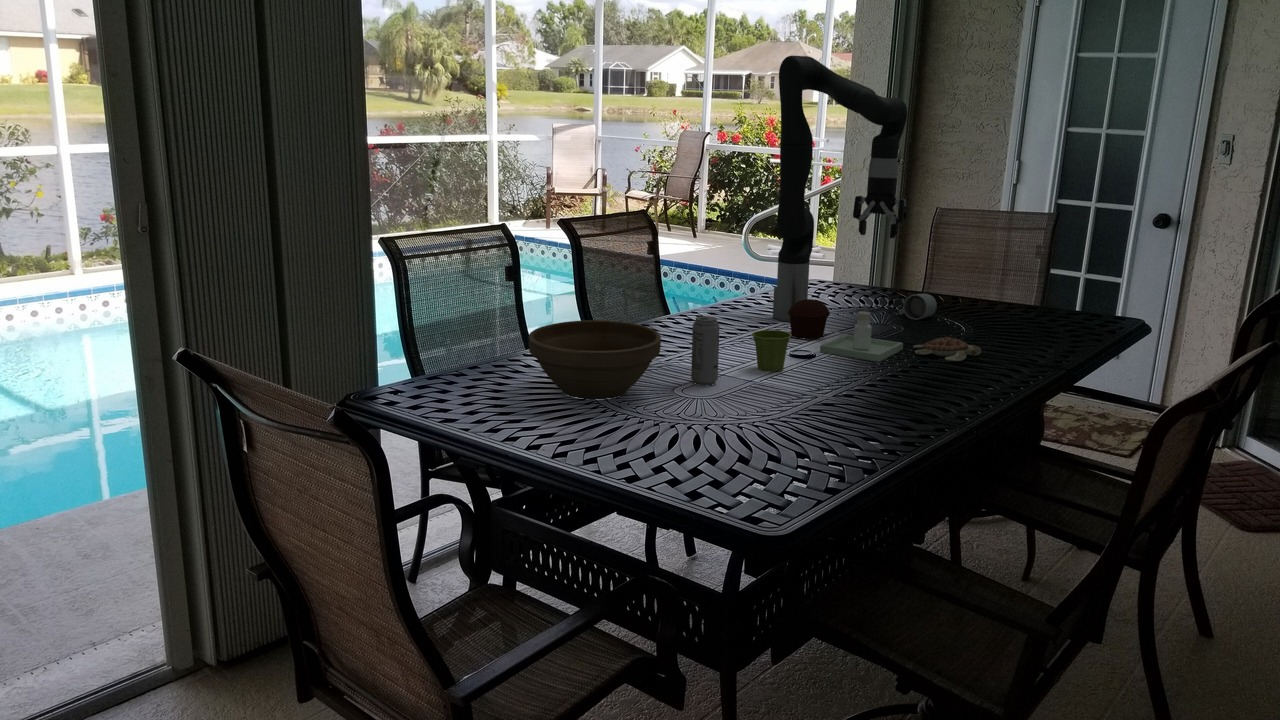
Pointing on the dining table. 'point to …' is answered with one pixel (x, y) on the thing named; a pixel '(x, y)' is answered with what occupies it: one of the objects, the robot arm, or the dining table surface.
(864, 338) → the pepper shaker
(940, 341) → the decorative turtle
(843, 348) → the tray
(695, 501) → the dining table surface
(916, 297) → the ceramic mug
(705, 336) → the energy drink can
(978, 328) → the dining table surface
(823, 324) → the muffin
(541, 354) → the flower pot
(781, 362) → the plant pot
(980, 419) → the dining table surface
